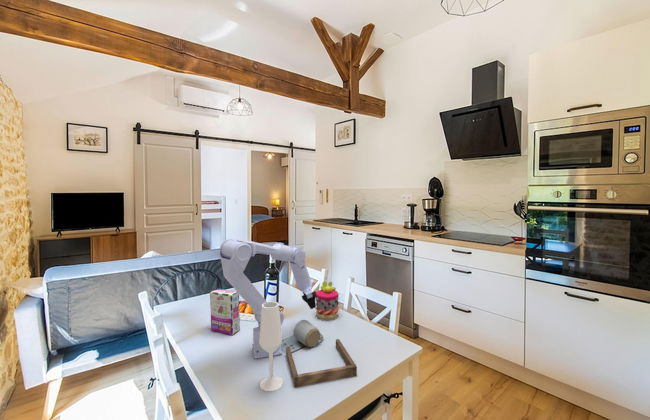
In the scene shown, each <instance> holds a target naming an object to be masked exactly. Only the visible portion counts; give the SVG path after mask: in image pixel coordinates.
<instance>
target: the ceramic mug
mask: <svg viewBox="0 0 650 420" xmlns="http://www.w3.org/2000/svg"><path fill="white" fill-rule="evenodd" d="M293 336H294V339H296V340H297V341H298V342H300V343H301V344H303V346H306V347H308V348H312V347H315V346H316V345H317V344H318V343H319V341H324V340H323V339H324V335H323V334H322V333H321V332H320V330H319V329H318V327H316V326H315V325H314V324H312V323H311V322H310V321H308V320H306V319H302V320H300V321H298V322H297V323H296V324H295V326H294V328H293Z"/></svg>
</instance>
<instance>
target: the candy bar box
mask: <svg viewBox="0 0 650 420" xmlns="http://www.w3.org/2000/svg"><path fill="white" fill-rule="evenodd" d="M209 294H210V295H209V296H210V299H209V300H210V305H209V306H210V331H211V332H215V333H219V334H225V335H228V336H234V335H235V334H237V333H238V332H240V330H241V327H240V326H241V324H240V322H241V321H240V320H241V319H240V294H239V293H238V292H237V291H236V290H229V289H222V288H216V289H214V290H212V291H210V293H209Z"/></svg>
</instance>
